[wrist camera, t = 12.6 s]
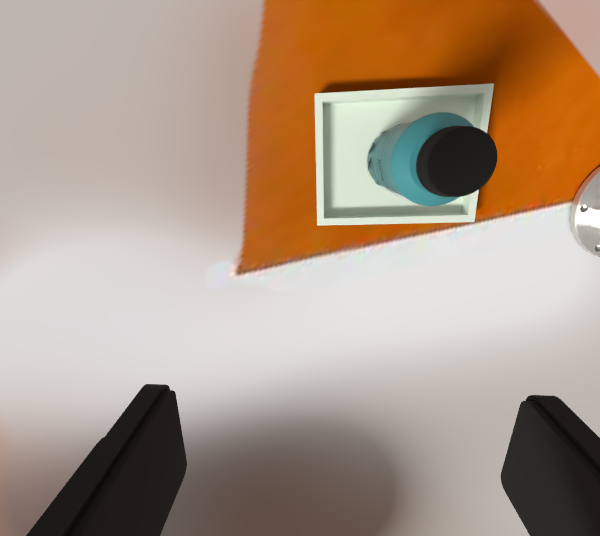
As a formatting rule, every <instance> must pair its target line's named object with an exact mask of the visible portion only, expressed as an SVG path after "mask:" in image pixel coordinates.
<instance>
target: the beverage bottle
mask: <svg viewBox="0 0 600 536" xmlns="http://www.w3.org/2000/svg"><path fill="white" fill-rule="evenodd" d="M399 125H401V126H399ZM397 126H398V127H396V126H394V127H396V128H393V129H392V127H391V130H390V129H388V130H386V131H384V132H382V133H383V134H382V133H380V134H381V135H380V136H379V135H378V136H379V137H378V138H377V139H374V140H375V141H374V142H373V143H372V146H371V145H370V146H371V147H370V150H369V152H368V154H367V155H368V157H367V156H366V157H367V165H368V170H367V171H369V173H370V174H369V176H370V175H371V176H372V178H373V179H374V180H375V181H376V182H375V181H374V182H375V183H376V184H377V185H379V184H380V185H381V186H380V185H379V186H380V187H385V188H387V189H389V190H390V192H392V191H393V192H395V193H397V194H399V195H401V196H403V197H405V198H406V199H408V200H409V201H411V202H413V203H416V204H419V205H423V206H440V205H444V204H447V203H450V202H452V201H454V200H456V199H457V198H459V197H462V196H466V195H469V194H472V193H474V192H475V191H477V190H479V189H480V188H481V187H482V186H484V185H485V184H486V183H487V181H488V180H489V179H490V177H491V176H492V174H493V172H494V170H495V167H496V163H497V150H496V146H495V143H494V141H493V140H492V138H491V137H490V136H489V135H488V134H487V133H486V132H484V131H483V130H481V129H479V128H476V127H474V126H473V125H472V124H471V123H470V122H469V121H468V120H467V119H465V118H464V117H462V116H460V115H457V114H454V113H449V112H438V113H432V114H429V115H426V116H423V117H421V118H419V119H417V120H416V121H413V122H409V123H406V124H403V125H402V124H398V125H397ZM371 176H370V177H371ZM385 188H384V189H385ZM389 190H388V191H389ZM393 192H392V193H393ZM395 195H396V194H395ZM397 196H398V195H397Z"/></svg>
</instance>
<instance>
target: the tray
mask: <svg viewBox="0 0 600 536" xmlns="http://www.w3.org/2000/svg"><path fill="white" fill-rule="evenodd" d="M493 88H494V83H493V84H475V85H457V86H440V87H422V88H404V89H386V90H369V91H351V92H333V93H315V134H316V185H317V225H359V224H403V223H447V222H474V221H475V214H476V207H477V200H478V193H479V190H477V191H475V192H474V193H472V194H469V195H466V196H462V197H459V198H457V199H456V200H454V201H452V202H450V203H447V204H444V205H440V206H423V205H419V204H416V203H413V202H411V201H409V200H408V199H406V198H405V197H403V196H401V195H399V194H397V193H395V192H393V191H392V192H393V193H392V192H390V190H389V189H387V188H385V187H380V186H381V185H380V184H379V185H380V186H379V185H377V184H376V183H375V182H376V181H375V180H374V179H373V178H372V176H371V175H370V176H371V177H370V176H369V174H370V173H369V171H367V170H368V165H367V157H368V155H367V154H368V152H369V150H370V147H371V146H372V143H373V142H374V141H375V140H374V139H377V138H378V137H379V136H380V135H381V134H380V133H382V132H384V131H386V130H388V129H390V130H391V127H392V129H393V128H396V127H398V126H397V125H398V124H402V125H403V124H406V123H409V122H413V121H416V120H417V119H419V118H421V117H423V116H426V115H429V114H432V113H438V112H449V113H454V114H457V115H460V116H462V117H464V118H465V119H467V120H468V121H469V122H470V123H471V124H472V125H473V126H474V127H476V128H479V129H481V130H483V131H484V132H486V133H487V130H488V123H489V116H490V109H491V102H492V95H493ZM394 126H396V127H394ZM399 126H401V125H399ZM382 134H383V133H382ZM378 135H379V136H378ZM370 145H371V146H370ZM366 156H367V157H366ZM374 181H375V182H374ZM384 188H385V189H384ZM388 190H389V191H388ZM395 194H396V195H395ZM397 195H398V196H397Z"/></svg>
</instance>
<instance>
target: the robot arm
mask: <svg viewBox="0 0 600 536" xmlns="http://www.w3.org/2000/svg"><path fill="white" fill-rule="evenodd" d="M570 227H571V231H572V234H573V236H574V238H575V240H576V241H577V243H578V244H579V245H580V246H581V247H582V248H583V249H584V250H586V251H587V252H589V253H591V254H593V255H596V256H599V257H600V166H599V167H598V168H597V169H595V170H594V171H593V172H592V173H591V174H590V175H589V176H588V178H587V179H586V180H585V181H584V182H583V184H582V185H581V187H580V188H579V190H578V192H577V194H576V196H575V198H574V200H573V203H572V206H571V210H570ZM186 466H187V461H186V455H185V449H184V442H183V436H182V430H181V425H180V418H179V413H178V406H177V400H176V394H175V392H174V391H172V390H170V388H169V386H168V385H155V384H154V385H153V384H146V385H144V386H143V388H142V389H141V390H140V391H139V392H138V394H137V395H136V396H135V398H134V399H133V400H132V402H131V403H130V404H129V406H128V407H127V408H126V410H125V411H124V412H123V414H122V415H121V416H120V418H119V419H118V420H117V422H116V423H115V424H114V426H113V427H112V428H111V430H110V431H109V432H108V433H107V435H106V436H105V437H104V438H102V439H101V440H100V441H99V442H98V443H97V444H96V446H95V447H94V448H93V449H92V451H91V452H90V453H89V455H88V456H87V457H86V459H85V460H84V461H83V463H82V464H81V465H80V466H79V468H78V469H77V470H76V472H75V473H74V474H73V476H72V477H71V478H70V479H69V481H68V482H67V483H66V485H65V486H64V487H63V489H62V490H61V491H60V492H59V494H58V495H57V497H56V498H55V499H54V500H53V502H52V503H51V504H50V506H49V507H48V508H47V510H46V511H45V512H44V513H43V515H42V516H41V517H40V519H39V520H38V521H37V523H36V524H35V525H34V527H33V528H32V529H31V530H30V532H29V533H28V534H27V536H160V534H161V532H162V529H163V527H164V524H165V522H166V519H167V517H168V514H169V512H170V510H171V507H172V505H173V503H174V500H175V497H176V495H177V493H178V490H179V488H180V486H181V483H182V481H183V478H184V475H185V472H186ZM501 482H502V485H503V488H504V490H505V492H506V494H507V496H508V497H509V499H510V501H511V503H512V505H513V506H514V508H515V510H516V512H517V513H518V515H519V517H520V519H521V520H522V522H523V524H524V526H525V527H526V529H527V531H528V533H529V534H530V536H600V438H599V437H598V436H597V435H596V434H595V433H594V432H593V431H592V430H591V429H590V428H589V427H588V426H587V425H586V424H585V423H584V422H583V421H582V420H581V419H580V418H579V417H578V416H577V415H576V414H575V413H574V412H573V411H572V410H571V409H570V408H568V406H567V405H566V404H565V403H564V402H563V401H562V400H560V399H559V398H558V397H555V396H540V395H531V396H528V397H527V399H526V401H523V402H521V404H520V408H519V411H518V415H517V418H516V422H515V426H514V429H513V433H512V436H511V440H510V443H509V447H508V451H507V454H506V458H505V462H504V465H503V469H502V472H501Z"/></svg>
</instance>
